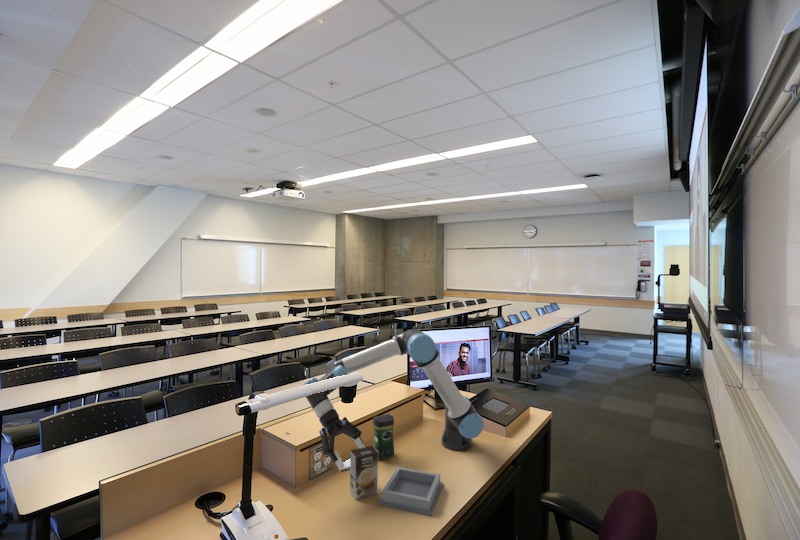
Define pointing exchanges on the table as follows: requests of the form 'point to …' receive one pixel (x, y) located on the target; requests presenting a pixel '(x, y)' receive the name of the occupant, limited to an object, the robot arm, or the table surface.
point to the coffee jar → (383, 436)
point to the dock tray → (412, 491)
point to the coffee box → (363, 472)
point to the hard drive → (346, 464)
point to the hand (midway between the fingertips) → (354, 460)
